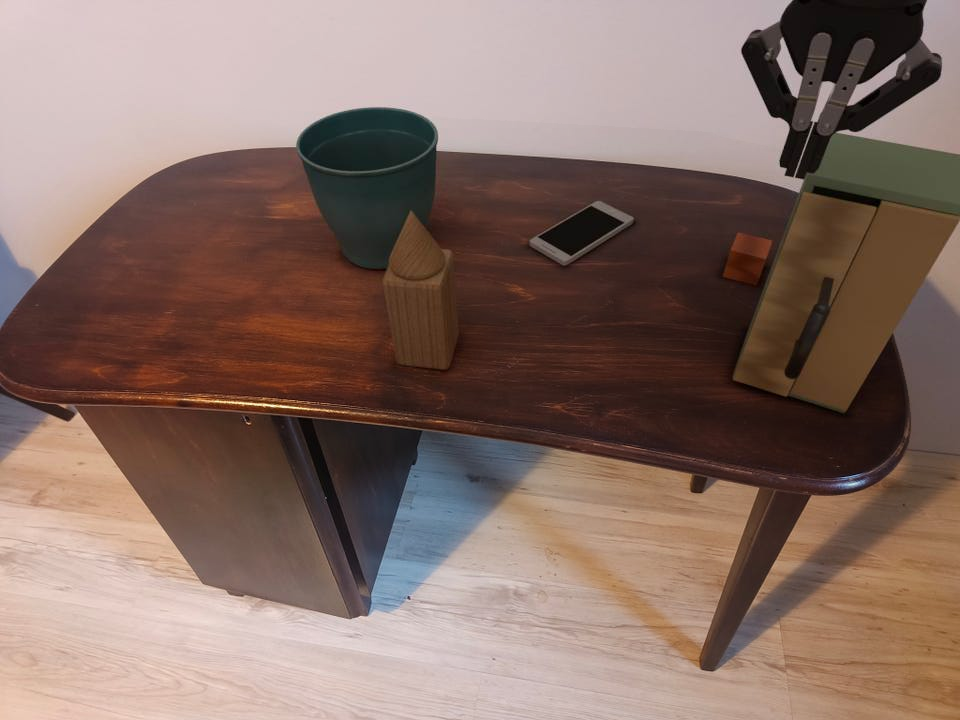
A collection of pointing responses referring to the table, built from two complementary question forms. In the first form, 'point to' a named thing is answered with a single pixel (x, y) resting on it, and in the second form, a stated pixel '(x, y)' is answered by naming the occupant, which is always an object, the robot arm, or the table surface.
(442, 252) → the decorative item
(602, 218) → the smartphone
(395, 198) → the flower pot
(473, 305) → the table surface
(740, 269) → the block
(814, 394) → the box
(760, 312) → the door
